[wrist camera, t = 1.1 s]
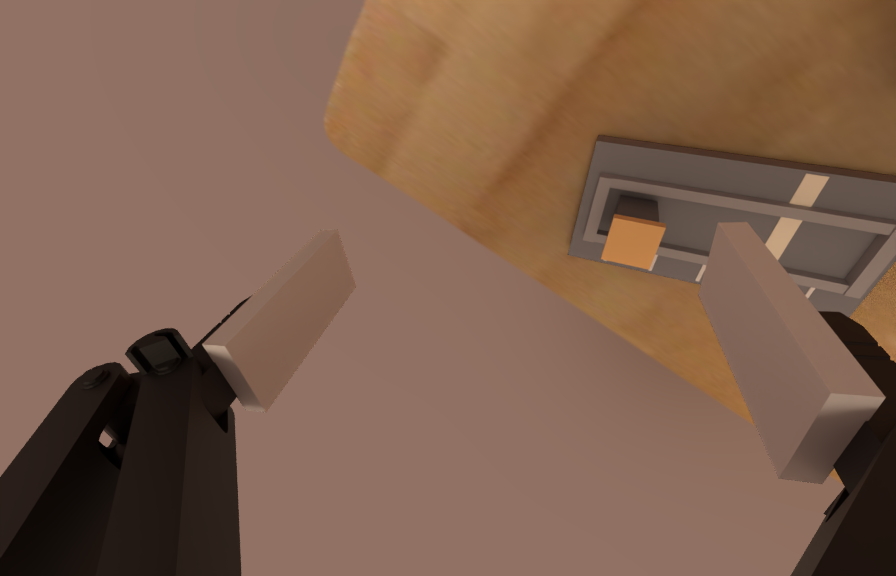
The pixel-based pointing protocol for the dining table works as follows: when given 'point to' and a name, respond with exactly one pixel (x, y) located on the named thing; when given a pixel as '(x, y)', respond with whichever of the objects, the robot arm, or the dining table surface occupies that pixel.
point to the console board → (747, 214)
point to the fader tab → (634, 233)
